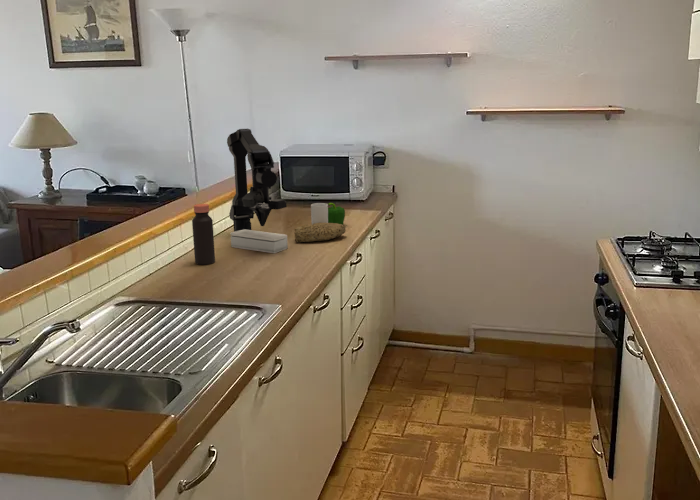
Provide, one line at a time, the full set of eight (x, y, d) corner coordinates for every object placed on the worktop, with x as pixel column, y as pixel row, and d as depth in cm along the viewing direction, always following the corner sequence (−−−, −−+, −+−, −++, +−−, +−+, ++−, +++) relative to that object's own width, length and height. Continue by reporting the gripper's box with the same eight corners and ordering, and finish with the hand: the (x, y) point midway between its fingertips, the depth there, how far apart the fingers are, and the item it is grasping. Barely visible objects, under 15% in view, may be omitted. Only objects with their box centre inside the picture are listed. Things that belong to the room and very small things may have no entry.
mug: (325, 236, 273) (325, 206, 270) (309, 235, 275) (308, 206, 272) (332, 230, 283) (331, 201, 280) (316, 230, 284) (315, 201, 281)
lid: (230, 235, 258) (230, 232, 258) (244, 231, 265) (244, 229, 265) (274, 241, 248) (274, 238, 248) (287, 237, 255) (287, 234, 255)
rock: (297, 248, 261) (349, 235, 263) (292, 228, 261) (344, 215, 262) (297, 246, 274) (346, 234, 276) (292, 227, 274) (342, 214, 275)
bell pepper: (346, 224, 295) (345, 200, 292) (344, 228, 287) (343, 204, 285) (326, 223, 296) (326, 200, 293) (324, 228, 288) (323, 204, 285)
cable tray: (231, 246, 259) (230, 236, 258) (244, 242, 266) (244, 232, 265) (274, 253, 250) (274, 242, 248) (287, 248, 256) (287, 237, 255)
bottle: (208, 258, 244) (204, 202, 239) (219, 262, 239) (215, 204, 234) (191, 262, 239) (187, 205, 234) (202, 266, 234) (198, 207, 229)
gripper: (225, 185, 249) (228, 227, 252) (267, 188, 239) (269, 232, 243) (245, 181, 258) (248, 222, 261) (286, 184, 248) (288, 226, 252)
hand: (262, 226), depth 254 cm, fingers closed
